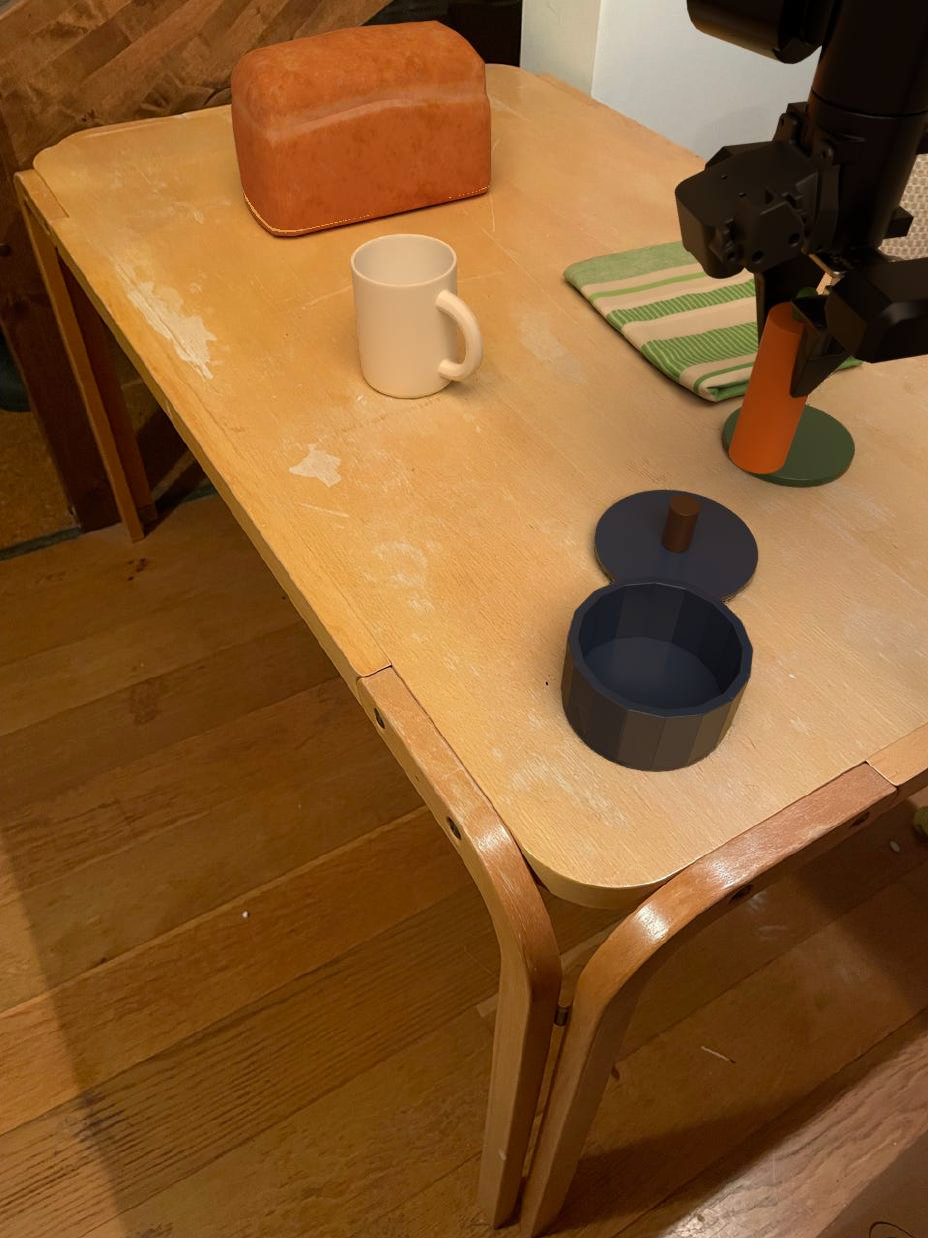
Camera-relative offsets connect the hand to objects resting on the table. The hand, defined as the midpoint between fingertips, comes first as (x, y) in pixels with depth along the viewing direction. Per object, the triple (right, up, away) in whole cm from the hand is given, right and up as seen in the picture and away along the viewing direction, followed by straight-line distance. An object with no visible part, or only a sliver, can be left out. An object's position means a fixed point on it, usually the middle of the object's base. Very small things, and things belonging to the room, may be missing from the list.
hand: (782, 376), depth 54 cm
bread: (-30, +32, +46) cm, 64 cm away
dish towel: (+3, +13, +29) cm, 31 cm away
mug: (-22, +6, +22) cm, 32 cm away
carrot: (0, -4, +5) cm, 6 cm away
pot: (-8, -20, +1) cm, 21 cm away
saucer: (+6, -1, +17) cm, 18 cm away
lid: (-5, -10, +8) cm, 14 cm away
